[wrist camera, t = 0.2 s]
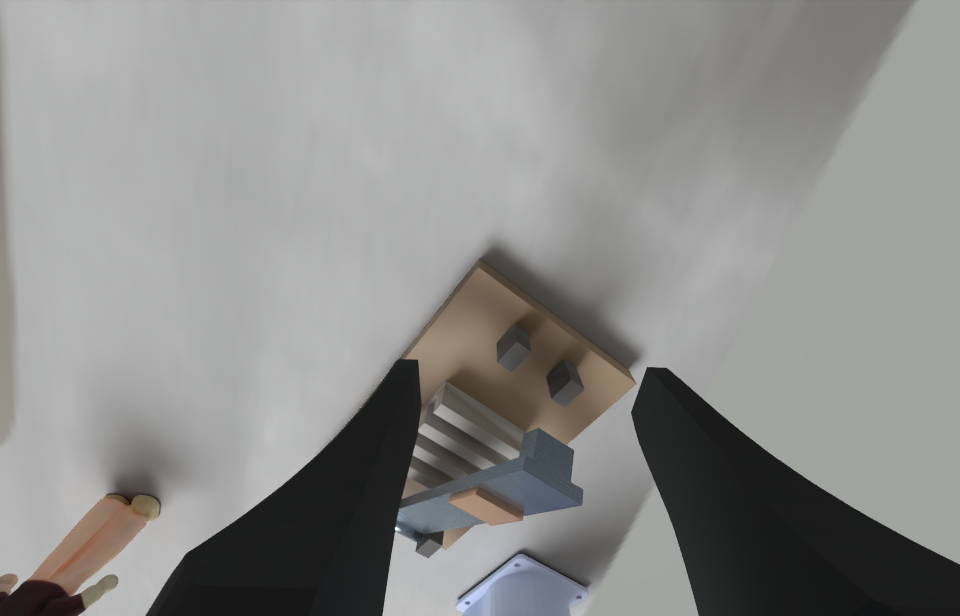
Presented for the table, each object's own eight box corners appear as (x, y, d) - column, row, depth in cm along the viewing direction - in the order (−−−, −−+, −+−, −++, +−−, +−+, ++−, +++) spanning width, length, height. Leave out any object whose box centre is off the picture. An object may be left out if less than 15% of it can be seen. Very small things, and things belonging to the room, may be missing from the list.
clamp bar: (426, 503, 27) (412, 542, 25) (389, 484, 26) (372, 523, 24) (586, 454, 16) (580, 516, 14) (532, 420, 16) (520, 480, 14)
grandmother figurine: (158, 483, 30) (-55, 705, 18) (182, 516, 31) (0, 740, 20) (71, 493, 30) (-186, 712, 19) (99, 525, 32) (-123, 746, 20)
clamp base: (447, 531, 31) (440, 599, 27) (316, 463, 28) (283, 526, 24) (628, 369, 24) (660, 423, 20) (479, 259, 21) (476, 291, 17)
